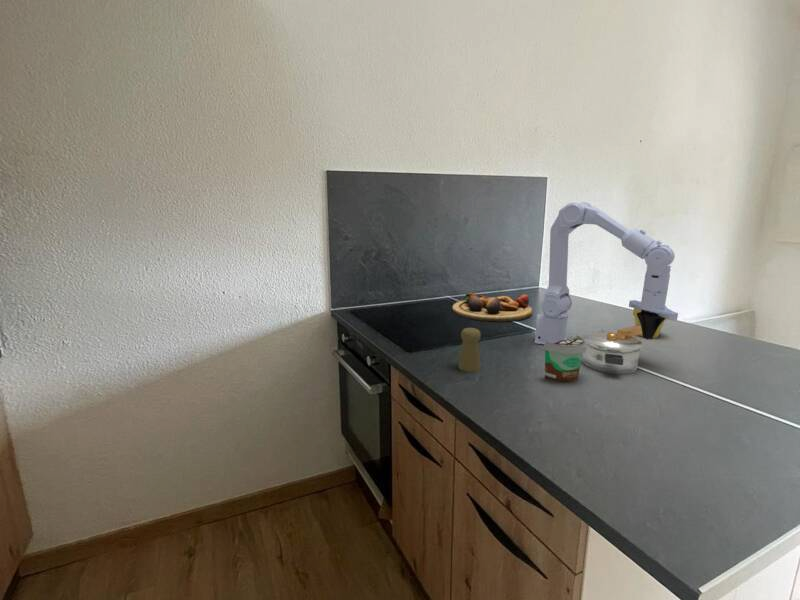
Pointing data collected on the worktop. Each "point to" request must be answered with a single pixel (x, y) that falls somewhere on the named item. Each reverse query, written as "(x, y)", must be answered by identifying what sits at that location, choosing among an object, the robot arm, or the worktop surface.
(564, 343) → the food container
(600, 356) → the cooker pot
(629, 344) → the lid
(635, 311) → the plant pot
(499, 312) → the wooden plate with food
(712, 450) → the worktop surface
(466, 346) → the cork
